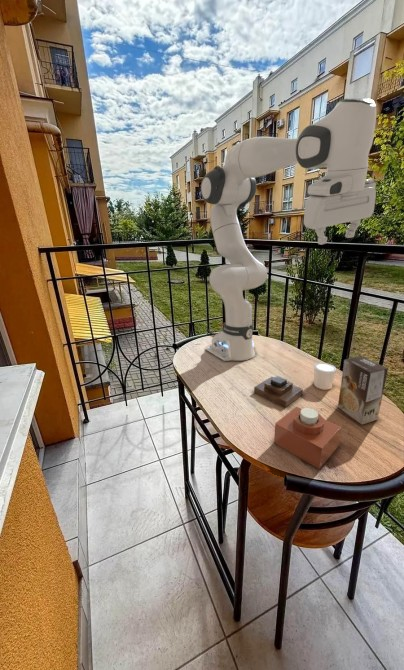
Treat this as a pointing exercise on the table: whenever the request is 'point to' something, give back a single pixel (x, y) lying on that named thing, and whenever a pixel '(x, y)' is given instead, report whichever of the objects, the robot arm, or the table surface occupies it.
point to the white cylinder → (324, 375)
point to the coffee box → (362, 389)
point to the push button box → (307, 437)
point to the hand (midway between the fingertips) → (335, 240)
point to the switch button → (278, 381)
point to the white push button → (308, 416)
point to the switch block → (278, 392)
